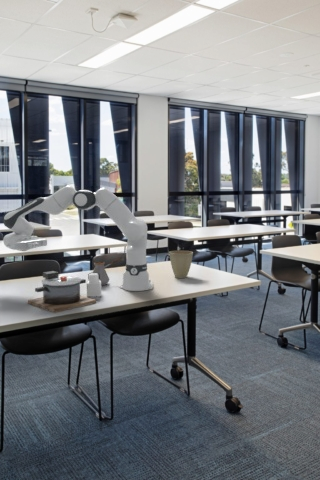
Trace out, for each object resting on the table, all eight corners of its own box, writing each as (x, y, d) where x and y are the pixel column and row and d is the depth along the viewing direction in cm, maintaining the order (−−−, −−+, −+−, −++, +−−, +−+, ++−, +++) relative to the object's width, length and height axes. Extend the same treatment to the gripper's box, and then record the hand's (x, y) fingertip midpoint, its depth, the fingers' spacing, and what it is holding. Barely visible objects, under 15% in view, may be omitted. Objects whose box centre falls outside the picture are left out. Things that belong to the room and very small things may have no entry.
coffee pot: (94, 287, 261) (93, 261, 259) (86, 283, 271) (86, 258, 269) (127, 283, 272) (127, 258, 270) (119, 279, 282) (119, 255, 280)
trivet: (27, 303, 228) (27, 300, 228) (68, 294, 245) (68, 291, 245) (55, 312, 211) (54, 309, 211) (96, 302, 228) (96, 299, 228)
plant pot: (193, 279, 281) (193, 254, 279) (169, 279, 282) (169, 254, 280) (192, 274, 296) (192, 250, 294) (169, 274, 296) (169, 250, 294)
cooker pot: (27, 302, 224) (26, 284, 223) (74, 292, 244) (73, 275, 243) (47, 309, 212) (46, 290, 211) (95, 297, 232) (95, 280, 231)
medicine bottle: (88, 293, 247) (87, 271, 246) (101, 293, 248) (101, 271, 246) (87, 296, 240) (86, 274, 238) (100, 296, 241) (100, 274, 239)
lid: (31, 281, 228) (31, 274, 228) (63, 275, 242) (63, 269, 241) (55, 288, 213) (55, 280, 213) (88, 281, 227) (88, 274, 227)
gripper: (4, 239, 242) (17, 241, 232) (38, 235, 257) (52, 237, 247) (5, 251, 243) (18, 253, 233) (39, 246, 257) (52, 248, 248)
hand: (36, 245), depth 240 cm, fingers closed
